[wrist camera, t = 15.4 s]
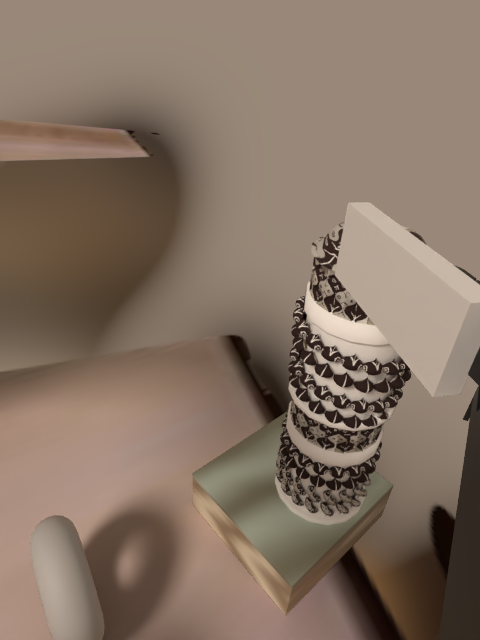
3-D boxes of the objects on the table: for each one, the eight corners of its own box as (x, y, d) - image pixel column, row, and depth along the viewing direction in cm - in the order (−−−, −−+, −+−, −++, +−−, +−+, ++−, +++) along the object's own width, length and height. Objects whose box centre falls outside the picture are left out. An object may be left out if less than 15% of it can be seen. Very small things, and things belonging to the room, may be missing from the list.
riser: (193, 505, 44) (192, 473, 41) (288, 437, 52) (293, 407, 49) (285, 615, 36) (292, 585, 33) (381, 515, 44) (393, 485, 41)
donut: (118, 664, 32) (101, 602, 27) (71, 695, 31) (43, 635, 25) (81, 550, 39) (61, 482, 34) (41, 571, 38) (13, 502, 32)
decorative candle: (332, 434, 46) (388, 202, 32) (390, 508, 39) (492, 252, 25) (254, 459, 43) (280, 213, 29) (302, 545, 35) (364, 274, 22)
